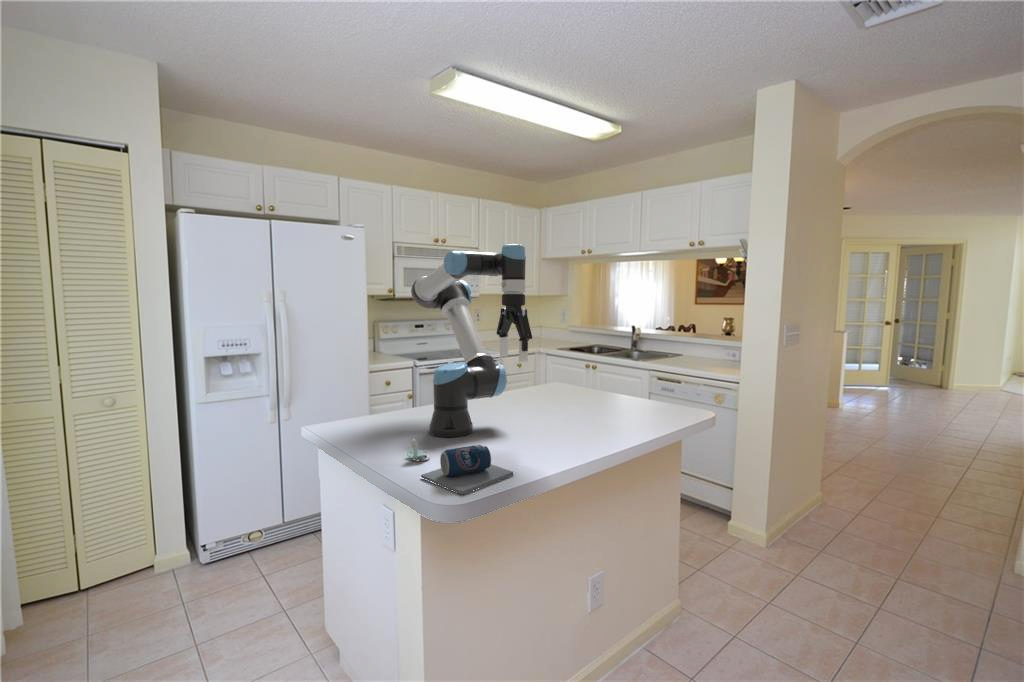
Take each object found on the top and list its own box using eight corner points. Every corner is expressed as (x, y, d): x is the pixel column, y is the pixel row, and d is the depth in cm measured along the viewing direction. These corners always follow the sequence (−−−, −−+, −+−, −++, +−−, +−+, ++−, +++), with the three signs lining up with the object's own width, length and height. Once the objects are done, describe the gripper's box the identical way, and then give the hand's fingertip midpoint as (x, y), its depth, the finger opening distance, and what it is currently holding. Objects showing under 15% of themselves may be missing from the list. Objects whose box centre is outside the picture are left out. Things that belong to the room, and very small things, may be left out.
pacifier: (424, 454, 148) (405, 457, 145) (424, 434, 147) (405, 436, 144) (433, 461, 141) (413, 464, 138) (433, 440, 141) (413, 442, 138)
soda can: (446, 449, 123) (490, 442, 129) (438, 451, 129) (480, 444, 135) (449, 477, 122) (493, 469, 127) (441, 478, 128) (483, 470, 133)
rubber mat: (421, 478, 128) (421, 474, 127) (472, 461, 141) (472, 457, 141) (462, 495, 117) (462, 491, 117) (513, 475, 130) (513, 471, 130)
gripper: (486, 293, 167) (486, 355, 169) (521, 293, 145) (521, 364, 147) (506, 293, 171) (506, 354, 173) (543, 293, 149) (543, 362, 151)
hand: (513, 359), depth 160 cm, fingers open, 13 cm apart
